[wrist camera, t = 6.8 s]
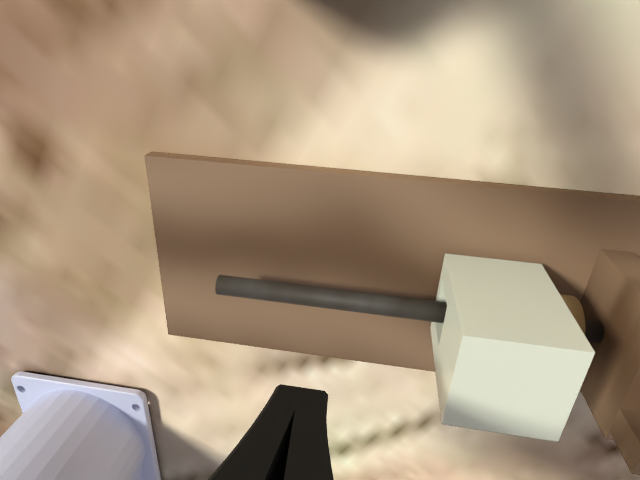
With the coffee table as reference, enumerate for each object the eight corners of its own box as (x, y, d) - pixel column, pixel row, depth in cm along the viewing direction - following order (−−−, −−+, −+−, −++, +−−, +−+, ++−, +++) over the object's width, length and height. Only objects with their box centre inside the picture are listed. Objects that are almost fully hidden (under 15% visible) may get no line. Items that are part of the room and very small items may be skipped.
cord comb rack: (593, 384, 20) (674, 533, 14) (173, 326, 22) (95, 435, 16) (672, 198, 16) (832, 300, 10) (151, 151, 18) (38, 212, 12)
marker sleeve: (518, 339, 18) (558, 441, 14) (430, 327, 19) (441, 424, 14) (541, 263, 17) (595, 352, 12) (445, 253, 17) (462, 335, 13)
